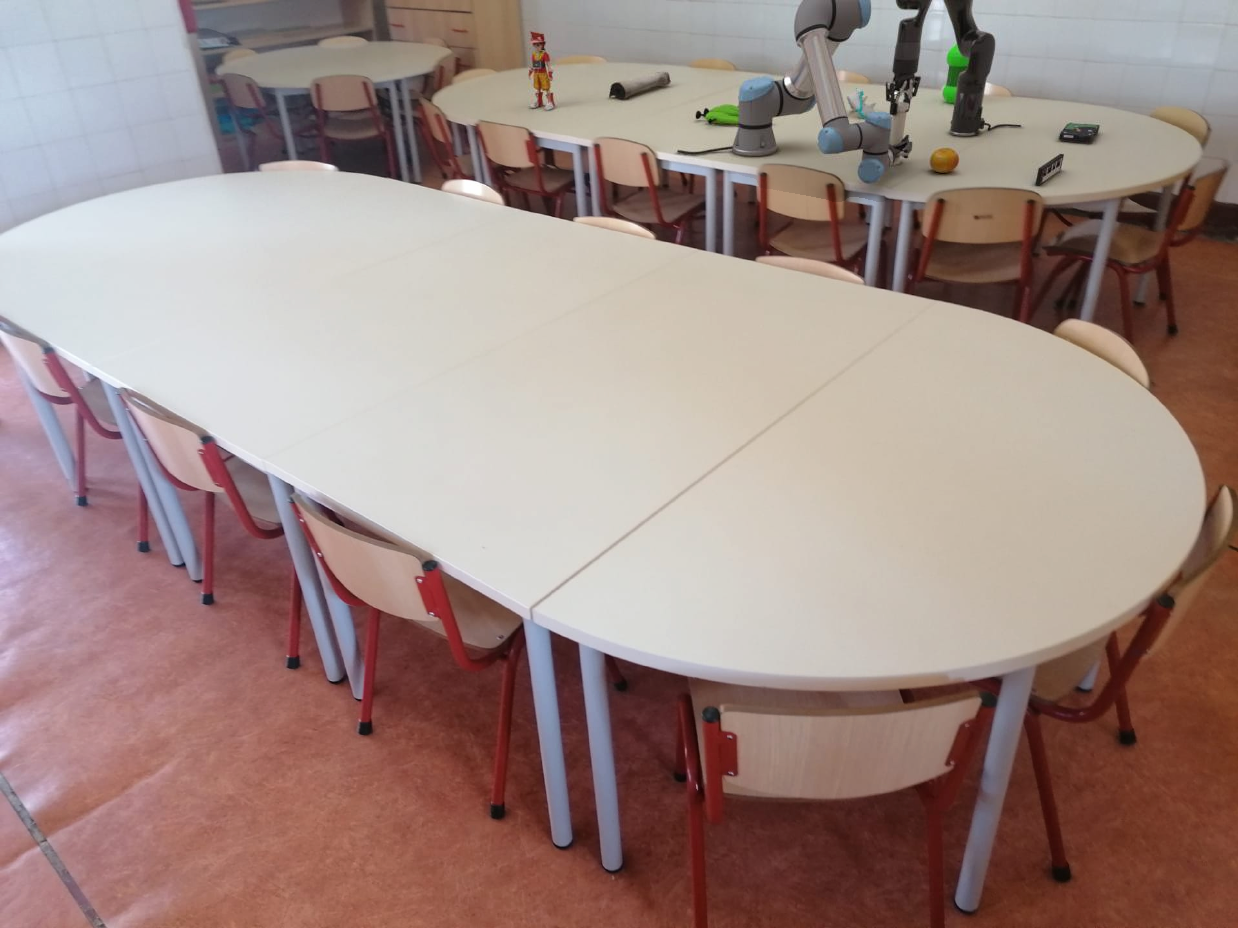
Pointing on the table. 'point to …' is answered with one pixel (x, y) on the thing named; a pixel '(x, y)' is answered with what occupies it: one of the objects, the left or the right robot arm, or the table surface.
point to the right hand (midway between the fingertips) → (899, 113)
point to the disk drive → (1079, 132)
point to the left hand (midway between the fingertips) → (899, 138)
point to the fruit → (944, 160)
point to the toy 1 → (541, 71)
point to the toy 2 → (721, 114)
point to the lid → (903, 106)
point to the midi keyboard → (1049, 169)
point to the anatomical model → (860, 103)
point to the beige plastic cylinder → (897, 130)
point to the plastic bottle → (954, 73)
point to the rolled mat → (638, 84)
